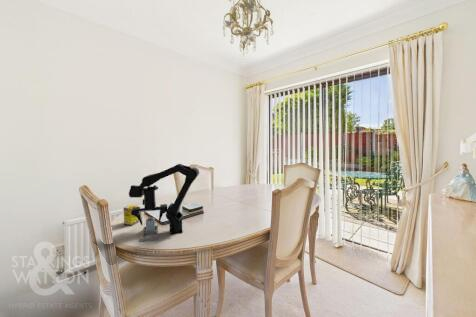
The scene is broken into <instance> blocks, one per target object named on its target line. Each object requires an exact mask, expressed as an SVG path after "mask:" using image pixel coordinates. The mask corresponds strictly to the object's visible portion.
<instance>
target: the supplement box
mask: <svg viewBox="0 0 476 317" xmlns="http://www.w3.org/2000/svg"><path fill="white" fill-rule="evenodd" d="M133 207H139V205H136V204H134V205H133V204H130V205H127V206H124V207H123V224H124V225H125V226H131V227H132V226H134V225H135V224H138V223H140V221H139V220H138V218H137V217H136V216H134V215H131V210H132V208H133Z"/></svg>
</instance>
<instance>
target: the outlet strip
mask: <svg viewBox="0 0 476 317" xmlns="http://www.w3.org/2000/svg"><path fill="white" fill-rule="evenodd" d="M154 234H155V236H148V235H154ZM144 236H147V237H144ZM139 239H140V242H141V241H142V242H149V241H155V240H158V239H159V224H155V231H148V232H146V226H143V228H142V230H141V236H140V238H139Z"/></svg>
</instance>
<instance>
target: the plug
mask: <svg viewBox="0 0 476 317" xmlns="http://www.w3.org/2000/svg"><path fill="white" fill-rule="evenodd" d="M155 225H156V218H155V217H148V218H145V227H146V230H145V232H148V231H155V230H156V228H155Z"/></svg>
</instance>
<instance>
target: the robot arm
mask: <svg viewBox="0 0 476 317" xmlns="http://www.w3.org/2000/svg"><path fill="white" fill-rule="evenodd" d="M176 173H180V174H181V175H183V176H185V179H184V182H183V185H182V186H181V188H180V191H179V193H178V195H177V196H176V199H175V201H174V203H173V202H171V203H170V204H169V205H168V204H167V203H165V204H164V203H163V204H160V205H159V206H157V205H156V203H157V202H156V191H157V190H159V187H158V186H157V185H154V184H155V183H157V182H159V181H160V180H163V179H164V178H166V177H168V176H169V177H170V176H171V175H174V174H176ZM199 175H200V170H199V169H198V168H197V167H191V166H188V165H184V164H182V163H177V164H175V165H174V166H171V167H169V168H167V169H165V170H163V171H160V172H156V173H152V174H148V175H146V176H144V177H142V179H141V183H140V184H139V185H135V184H134V185H133V184H132V185H131V186H130V188H129V190H128V196H129V198H134V199H135V198H136V199H137V198H143V199H142V206H144V207H143V208H141V207H140V206H138V207H133V208H132V210H131V215H134V216H136V217H137V218H138V220H139V223H140V225H141V226H143V216H142V213H144V212H153V211H154V212H155V211H159V216H158V224H160V223H161V220H162V217H163V216H164V214H165V218H166V219H167V220H168V223H169V225H168V226H169V233H170V234H171V235H176V234H182V233H183V232H184V230H183V216H184V214H183V213H182V212H180V211H181V207H182V206H181V205H182V203H183V201H184V199H185V197H186V195H187V193H188V192H189V189H190V188H191V186H192V184H193V183H194V181H195V180H197V178H198V176H199ZM152 185H153V186H152Z"/></svg>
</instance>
